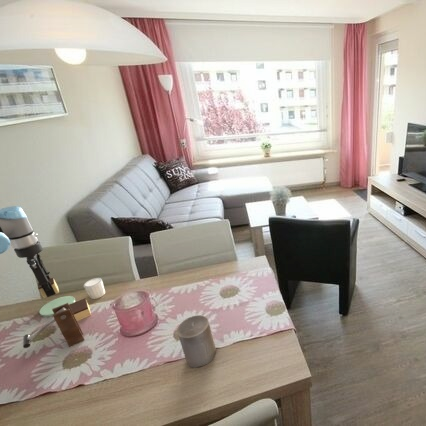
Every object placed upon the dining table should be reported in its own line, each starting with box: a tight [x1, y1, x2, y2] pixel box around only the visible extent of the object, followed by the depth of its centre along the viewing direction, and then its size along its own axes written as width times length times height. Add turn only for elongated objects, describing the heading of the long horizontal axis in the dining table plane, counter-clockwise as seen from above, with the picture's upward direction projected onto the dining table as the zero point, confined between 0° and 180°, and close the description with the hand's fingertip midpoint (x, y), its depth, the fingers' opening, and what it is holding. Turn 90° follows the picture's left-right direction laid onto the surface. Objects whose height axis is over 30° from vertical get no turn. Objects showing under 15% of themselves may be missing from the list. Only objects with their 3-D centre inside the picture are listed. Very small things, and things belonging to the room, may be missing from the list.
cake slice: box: [37, 277, 60, 299], centre depth 123 cm, size 5×5×5 cm
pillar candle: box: [176, 314, 217, 368], centre depth 98 cm, size 10×10×15 cm
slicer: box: [22, 307, 66, 349], centre depth 100 cm, size 14×6×2 cm, turn 132°
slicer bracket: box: [52, 303, 85, 348], centre depth 105 cm, size 10×8×16 cm
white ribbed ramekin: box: [82, 277, 106, 300], centre depth 132 cm, size 7×7×7 cm
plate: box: [39, 295, 77, 318], centre depth 127 cm, size 12×12×1 cm
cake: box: [69, 298, 92, 322], centre depth 119 cm, size 8×8×5 cm
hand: (51, 292), depth 124 cm, fingers closed on cake slice, 5 cm apart
